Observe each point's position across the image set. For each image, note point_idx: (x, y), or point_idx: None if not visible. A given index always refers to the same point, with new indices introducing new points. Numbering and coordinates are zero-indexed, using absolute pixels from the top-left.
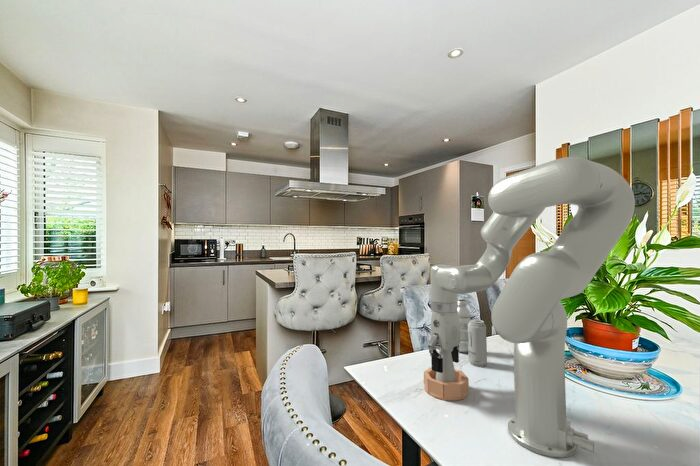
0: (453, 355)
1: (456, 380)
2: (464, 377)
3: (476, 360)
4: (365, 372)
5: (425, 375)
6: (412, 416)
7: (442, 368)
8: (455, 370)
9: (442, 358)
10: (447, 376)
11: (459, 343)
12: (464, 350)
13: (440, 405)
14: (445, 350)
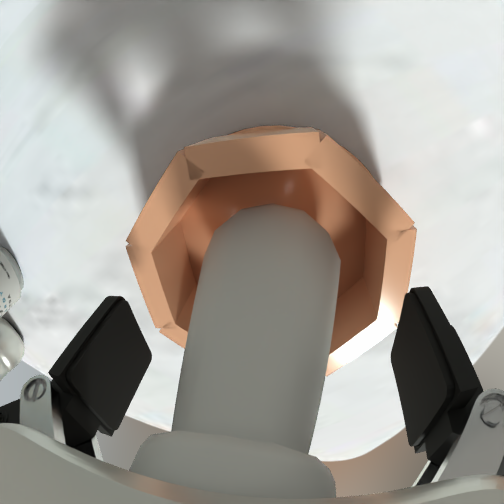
0: (114, 359)
1: (240, 212)
2: (187, 180)
3: (3, 273)
4: (355, 442)
5: (359, 354)
6: None
7: (431, 308)
8: (151, 278)
9: (462, 389)
10: (321, 258)
11: (13, 433)
12: (8, 329)
13: (431, 183)
14: (490, 476)
